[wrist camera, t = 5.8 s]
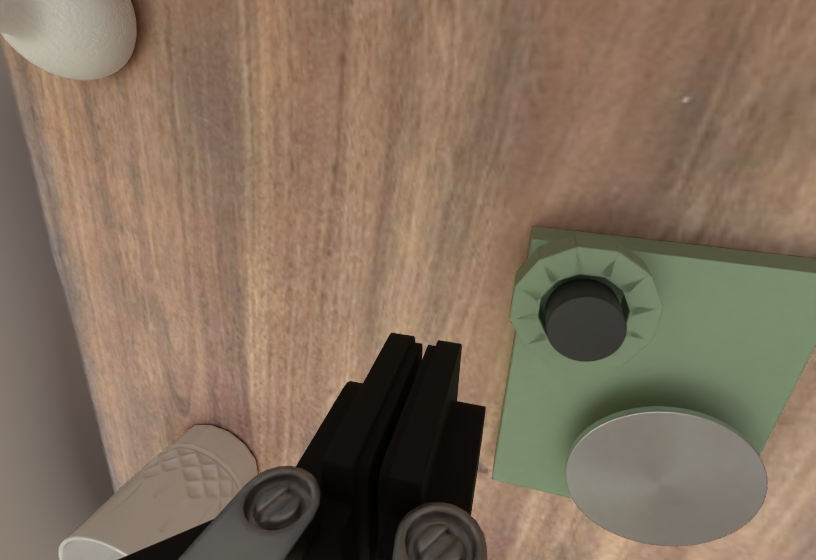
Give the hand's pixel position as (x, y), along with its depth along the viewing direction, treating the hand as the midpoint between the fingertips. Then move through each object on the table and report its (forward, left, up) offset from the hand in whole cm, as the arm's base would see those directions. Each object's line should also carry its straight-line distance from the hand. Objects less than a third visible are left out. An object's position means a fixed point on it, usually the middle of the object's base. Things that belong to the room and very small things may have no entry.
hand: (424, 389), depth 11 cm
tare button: (+2, +5, -10) cm, 11 cm away
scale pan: (+10, +10, -10) cm, 17 cm away
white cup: (+21, -18, -13) cm, 31 cm away
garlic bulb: (-9, -21, -13) cm, 26 cm away
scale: (+7, +8, -13) cm, 17 cm away
